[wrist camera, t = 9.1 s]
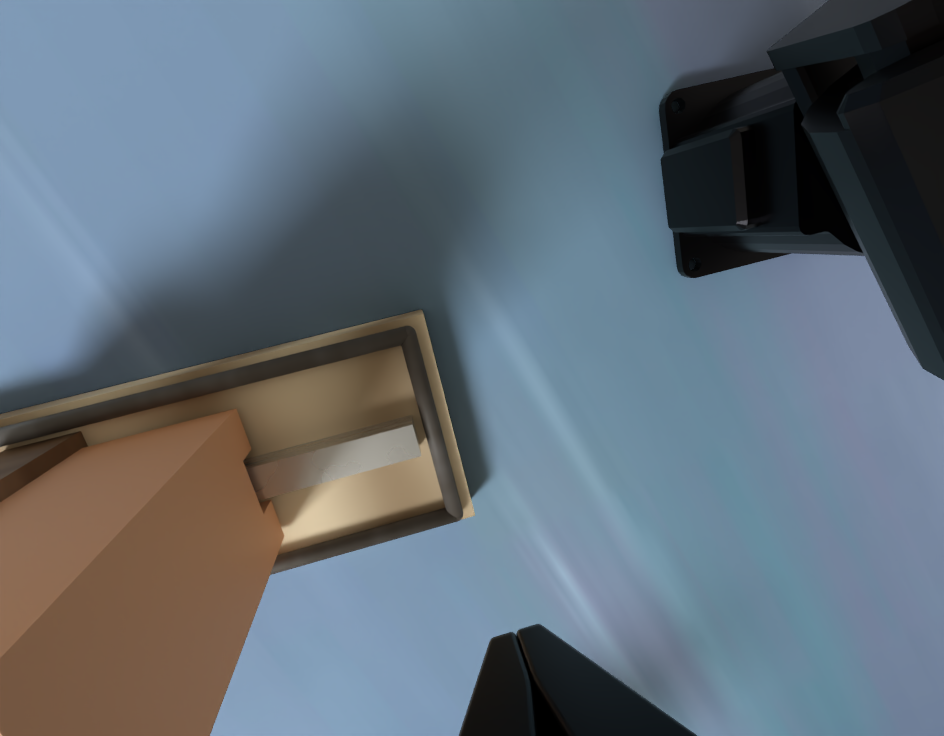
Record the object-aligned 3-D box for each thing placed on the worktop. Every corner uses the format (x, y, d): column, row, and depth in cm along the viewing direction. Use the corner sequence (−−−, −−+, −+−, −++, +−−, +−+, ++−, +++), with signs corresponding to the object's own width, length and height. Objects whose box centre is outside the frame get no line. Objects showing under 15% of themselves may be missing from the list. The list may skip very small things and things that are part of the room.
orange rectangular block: (236, 408, 17) (-29, 688, 6) (284, 535, 18) (132, 941, 8) (82, 447, 17) (-475, 817, 6) (143, 575, 18) (-223, 1060, 7)
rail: (411, 414, 18) (412, 424, 17) (419, 444, 18) (421, 456, 18) (111, 494, 17) (94, 509, 16) (125, 524, 18) (109, 541, 17)
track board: (421, 309, 19) (424, 316, 17) (470, 500, 21) (477, 523, 19) (-39, 423, 17) (-87, 444, 15) (64, 614, 19) (32, 651, 18)
